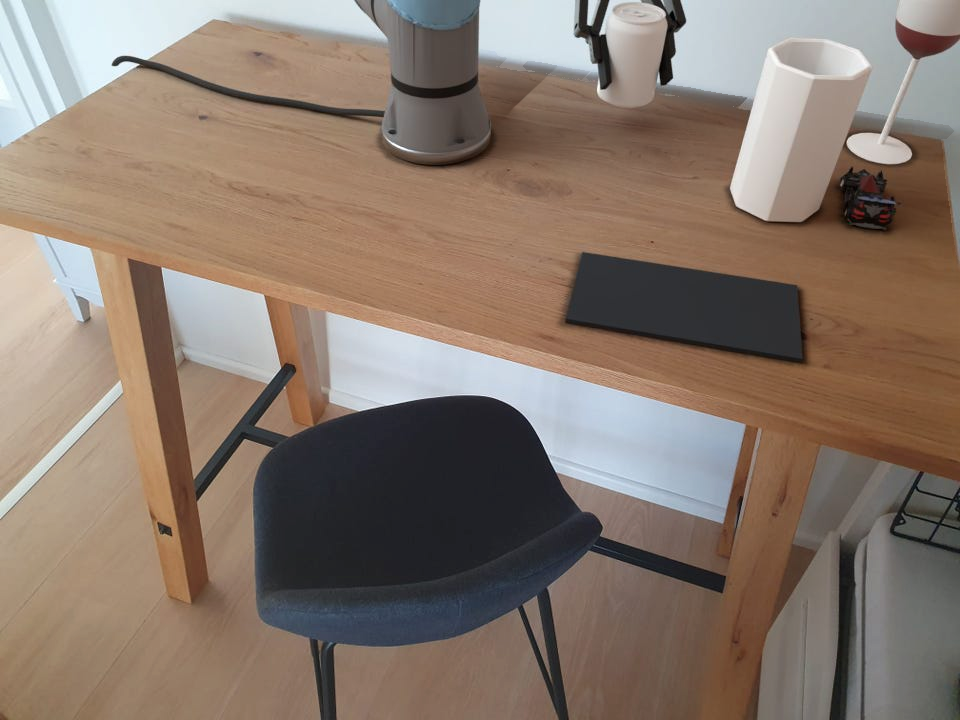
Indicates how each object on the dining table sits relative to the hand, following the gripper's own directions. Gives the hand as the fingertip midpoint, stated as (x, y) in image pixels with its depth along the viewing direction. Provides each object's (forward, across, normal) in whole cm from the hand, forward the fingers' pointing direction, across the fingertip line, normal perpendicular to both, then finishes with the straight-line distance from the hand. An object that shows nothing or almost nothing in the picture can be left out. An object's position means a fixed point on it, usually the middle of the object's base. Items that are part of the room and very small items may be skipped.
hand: (636, 83), depth 105 cm
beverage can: (0, 0, -5) cm, 5 cm away
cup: (+19, -13, +9) cm, 25 cm away
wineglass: (+12, -33, +2) cm, 36 cm away
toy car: (+21, -23, +11) cm, 33 cm away
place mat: (+32, +7, +21) cm, 39 cm away
